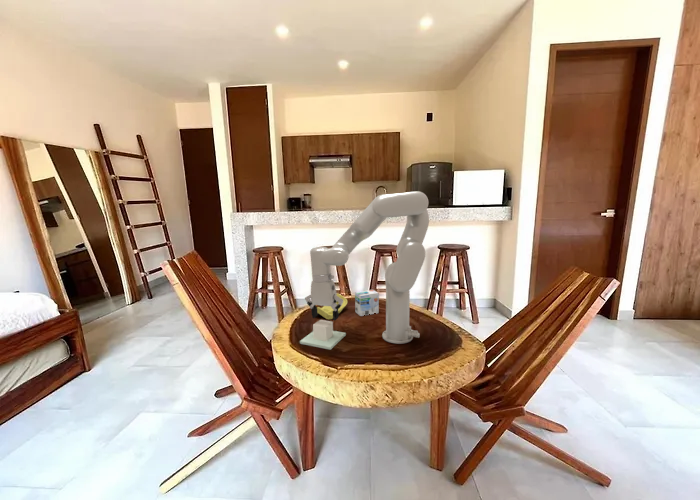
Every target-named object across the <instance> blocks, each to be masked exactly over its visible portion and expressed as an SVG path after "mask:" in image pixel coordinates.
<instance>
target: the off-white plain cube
mask: <svg viewBox="0 0 700 500" xmlns="http://www.w3.org/2000/svg"><path fill="white" fill-rule="evenodd" d="M333 331H334V321H332V320H325V319H319V320H318V321H316V322H315V323H313V324H312V332H313V339H317V340H322V341H327V340H328V339H330V338H331V337H332V336H333Z"/></svg>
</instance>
